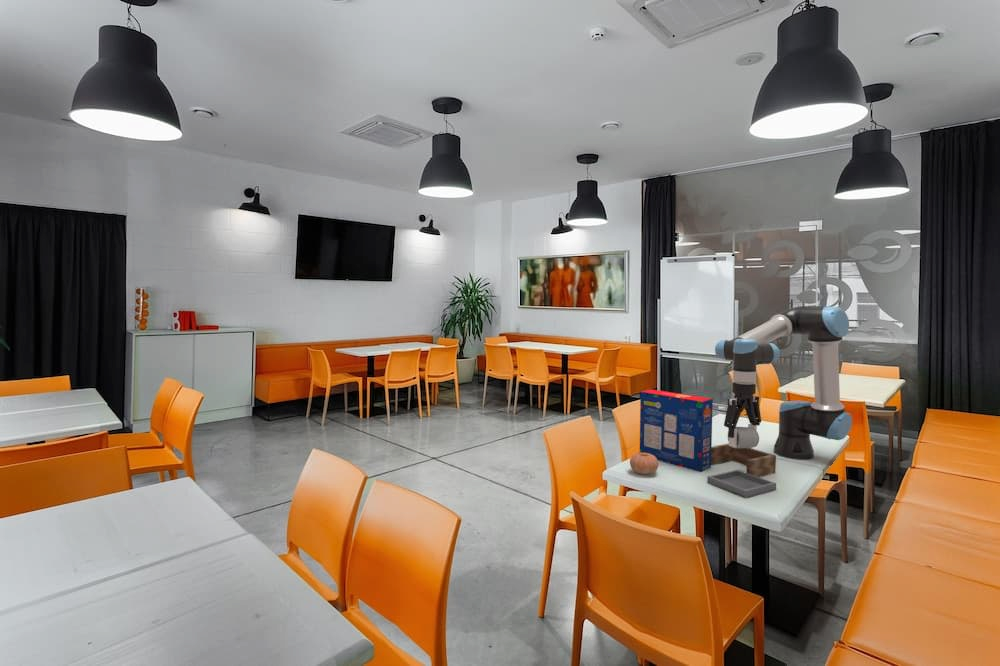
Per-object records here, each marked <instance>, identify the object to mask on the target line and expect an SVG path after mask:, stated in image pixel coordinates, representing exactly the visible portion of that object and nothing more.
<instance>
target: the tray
mask: <svg viewBox="0 0 1000 666" xmlns="http://www.w3.org/2000/svg"><path fill="white" fill-rule="evenodd" d="M706 483H707V484H709V485H710V486H714V487H716V488H719V489H721V490H724V491H726V492H729V493H731V494H734V495H737V496H738V497H742V498H744V499H748V498H751V497H756V496H759V495H763V494H766V493H770V492H774V491H776V490H777V482H774V481H771V480H768V479H765V478H763V477H757V476H754V475H751V474H748V473H746V471H742V470H739V469H734V470H730V471H726V472H722V473H717V474H712V475H708V476H707V482H706Z"/></svg>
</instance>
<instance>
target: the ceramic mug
mask: <svg viewBox="0 0 1000 666" xmlns="http://www.w3.org/2000/svg"><path fill="white" fill-rule="evenodd" d="M735 429H737V447H732V446H731V447H732V448H752V449H754V448H756V447H757V446H758V445H759V441H760V435H759V433H758V431H757V430H755V429H753V428H750V427H748V426H736V428H735ZM727 442H728V443H729V436H728V435H727Z"/></svg>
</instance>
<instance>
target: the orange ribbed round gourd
mask: <svg viewBox="0 0 1000 666" xmlns="http://www.w3.org/2000/svg"><path fill="white" fill-rule="evenodd" d="M629 465H630V468H631V469H632V471H634V472H635V473H637V474H639V475H645V476H646V475H648V476H649V475H651V474H654V473H655V472H657V470H658V468H659V461H658V460H657V458H656V457H655V456H654V455H652V454H649V453H640V452H637V453H634V454H633V455H632V456H631V457H630V459H629Z"/></svg>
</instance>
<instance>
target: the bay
mask: <svg viewBox="0 0 1000 666" xmlns="http://www.w3.org/2000/svg"><path fill="white" fill-rule="evenodd" d="M729 462H736V463H739V464H741V465H745V467H746V468H745V469H746V471H745V472H746V473H748V474H751V475H754V476H757V477H760V478H763V477H765V476H769V475H774V474H776V470H777V469H776V467H777V466H776V465H777V454H776V455H775V454H772V453H769V452H765V451H763V450H758V449H755V448H732V447H731V446H729V442H728V443H724V444H719V445H714V446H711V466H715V465H719V464H724V463H729Z"/></svg>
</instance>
